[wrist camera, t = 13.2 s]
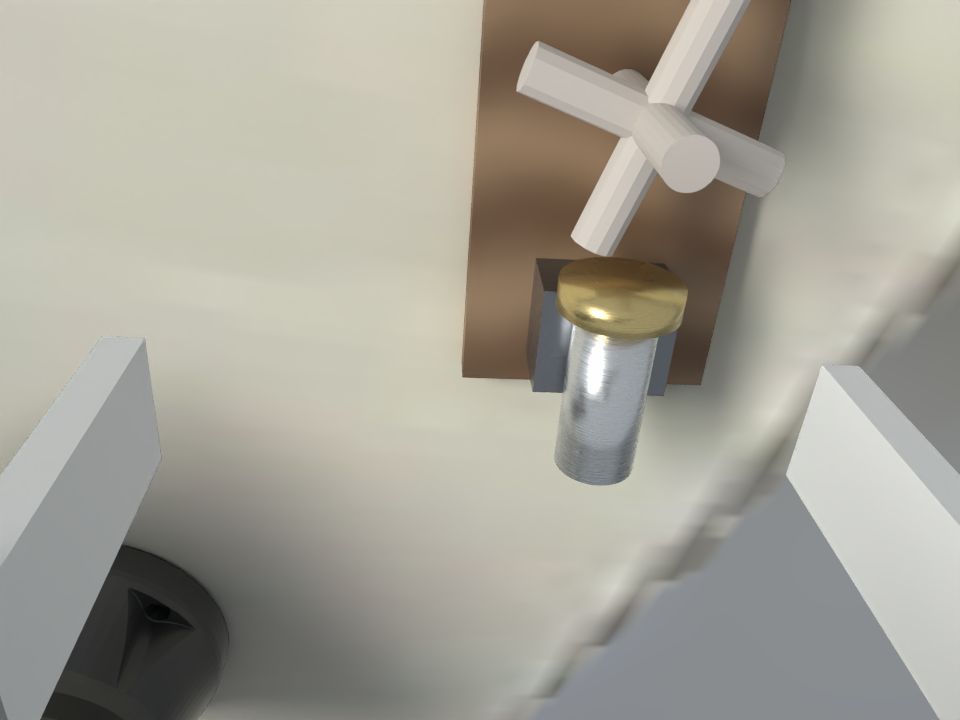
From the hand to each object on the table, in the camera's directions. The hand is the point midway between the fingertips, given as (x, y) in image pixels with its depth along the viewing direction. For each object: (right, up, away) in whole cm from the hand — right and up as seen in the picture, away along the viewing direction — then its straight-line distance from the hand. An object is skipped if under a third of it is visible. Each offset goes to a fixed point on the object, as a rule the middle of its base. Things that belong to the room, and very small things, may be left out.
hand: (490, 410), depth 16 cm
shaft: (+5, +3, +23) cm, 24 cm away
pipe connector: (+6, +12, +18) cm, 22 cm away
